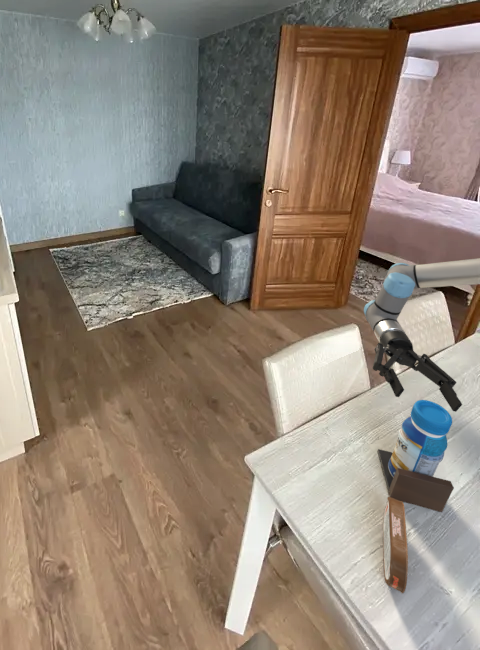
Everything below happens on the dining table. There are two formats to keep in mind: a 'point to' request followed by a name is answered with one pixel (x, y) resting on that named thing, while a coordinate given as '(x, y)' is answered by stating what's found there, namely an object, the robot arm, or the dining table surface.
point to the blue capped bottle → (421, 439)
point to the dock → (415, 486)
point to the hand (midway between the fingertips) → (428, 400)
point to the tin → (395, 545)
